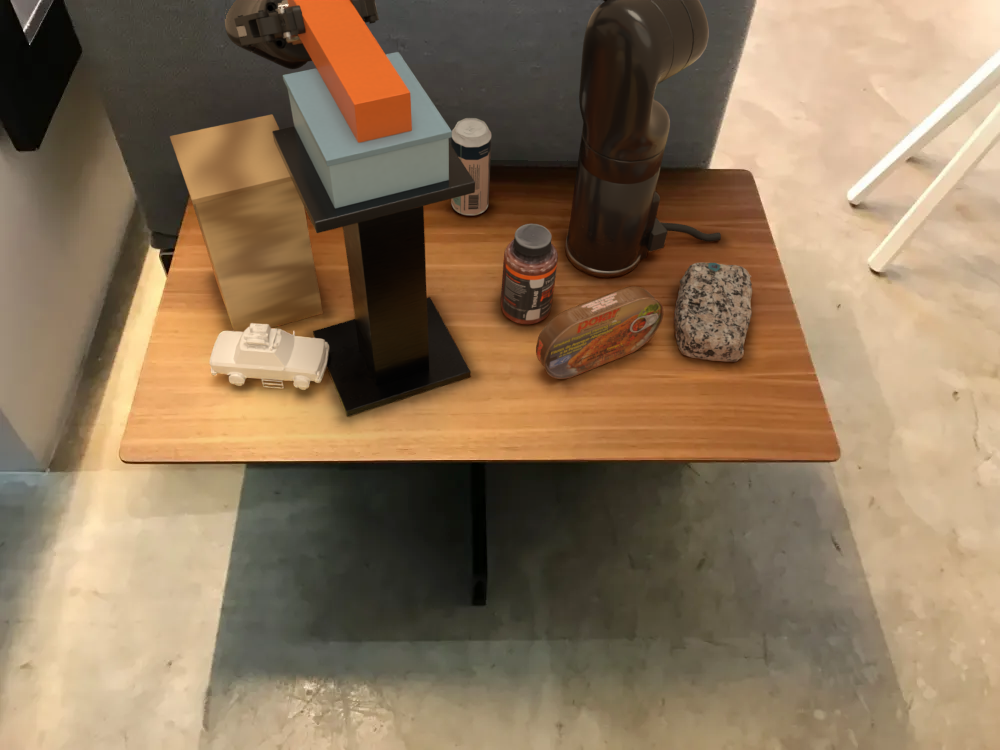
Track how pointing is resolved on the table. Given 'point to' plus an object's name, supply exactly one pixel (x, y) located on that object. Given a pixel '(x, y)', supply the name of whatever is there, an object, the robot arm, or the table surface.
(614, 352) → the tin
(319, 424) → the table surface
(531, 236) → the supplement bottle
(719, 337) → the rock
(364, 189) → the storage tub
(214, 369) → the toy car
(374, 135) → the orange rectangular bar
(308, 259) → the box
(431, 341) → the shelf stand
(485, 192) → the beer can
